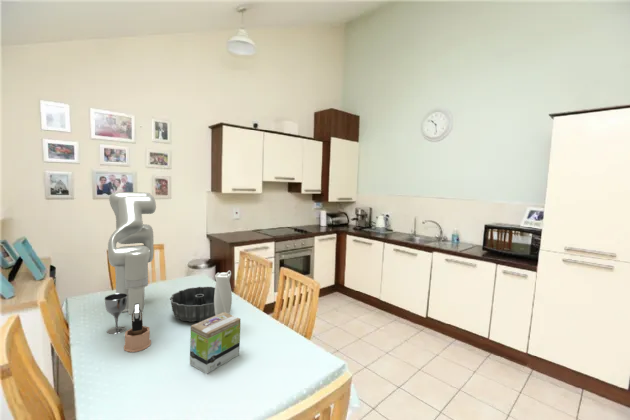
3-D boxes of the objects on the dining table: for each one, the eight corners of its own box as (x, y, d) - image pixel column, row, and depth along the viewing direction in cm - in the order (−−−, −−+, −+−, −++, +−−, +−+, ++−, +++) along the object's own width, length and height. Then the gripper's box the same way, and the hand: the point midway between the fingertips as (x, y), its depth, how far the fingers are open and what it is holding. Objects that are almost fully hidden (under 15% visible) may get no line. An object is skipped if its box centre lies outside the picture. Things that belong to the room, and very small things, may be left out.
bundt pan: (212, 300, 163) (213, 282, 162) (237, 316, 145) (237, 296, 144) (162, 313, 145) (162, 293, 144) (182, 333, 126) (182, 311, 125)
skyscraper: (235, 332, 128) (236, 270, 126) (219, 338, 123) (220, 273, 120) (225, 326, 133) (226, 266, 131) (210, 331, 128) (211, 269, 126)
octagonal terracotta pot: (124, 343, 117) (124, 328, 116) (150, 337, 121) (150, 323, 121) (123, 354, 109) (122, 339, 108) (151, 348, 114) (151, 333, 113)
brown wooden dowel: (132, 342, 116) (131, 308, 114) (143, 339, 118) (142, 306, 116) (132, 346, 113) (131, 311, 111) (143, 344, 114) (142, 309, 113)
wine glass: (116, 335, 122) (115, 301, 121) (100, 333, 123) (99, 298, 122) (132, 327, 130) (131, 294, 128) (116, 324, 131) (116, 292, 130)
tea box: (207, 375, 99) (207, 333, 98) (189, 365, 104) (189, 325, 103) (240, 354, 112) (241, 317, 111) (222, 346, 117) (223, 310, 116)
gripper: (126, 277, 119) (127, 317, 120) (124, 290, 104) (124, 337, 105) (147, 274, 122) (148, 314, 124) (148, 287, 108) (148, 332, 109)
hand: (137, 324), depth 114 cm, fingers open, 9 cm apart
